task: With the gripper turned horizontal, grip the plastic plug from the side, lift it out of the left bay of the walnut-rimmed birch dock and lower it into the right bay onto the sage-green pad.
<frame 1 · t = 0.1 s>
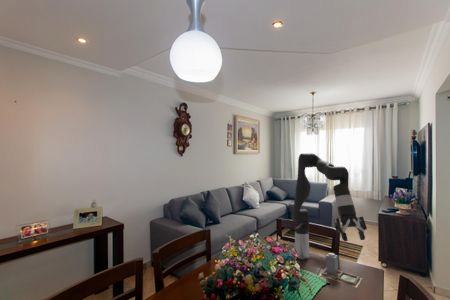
hand: (354, 240, 109), 31 cm above the table, tool tilted 20°, fingers open, 8 cm apart
dock: (340, 277, 135), on the table
plug: (332, 274, 138), point 1 cm above the table, touching dock
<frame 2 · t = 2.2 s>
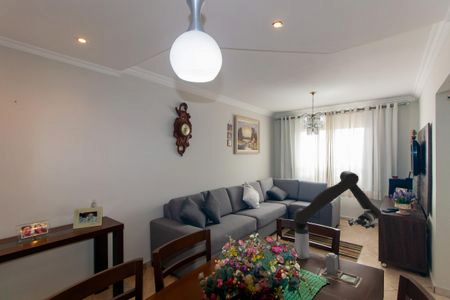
hand: (358, 225, 141), 28 cm above the table, tool horizontal, fingers open, 8 cm apart
nothing on the table moved.
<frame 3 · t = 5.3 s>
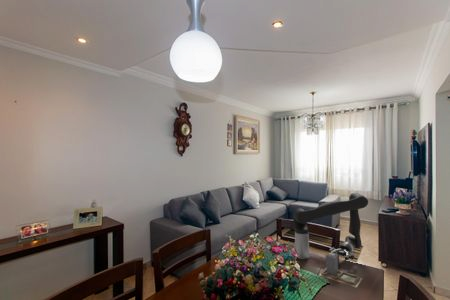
hand: (338, 256, 146), 7 cm above the table, tool horizontal, fingers open, 8 cm apart
nothing on the table moved.
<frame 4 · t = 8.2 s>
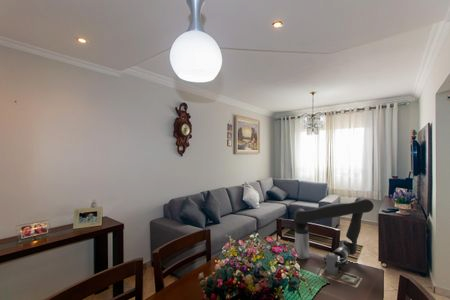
hand: (330, 264, 136), 7 cm above the table, tool horizontal, fingers closed on plug, 5 cm apart
plug: (332, 274, 138), point 1 cm above the table, touching dock, gripper
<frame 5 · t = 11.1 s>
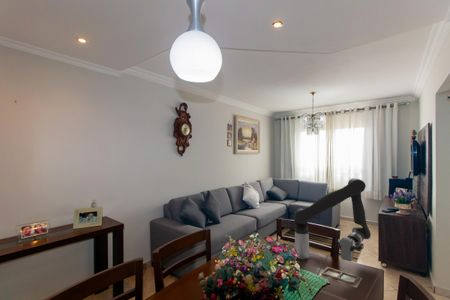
hand: (345, 248, 130), 19 cm above the table, tool horizontal, fingers closed on plug, 5 cm apart
plug: (347, 258, 132), point 12 cm above the table, touching gripper
when the fingers open (8 cm above the table, at t = 13.8 s): plug stays where it is, resting on dock.
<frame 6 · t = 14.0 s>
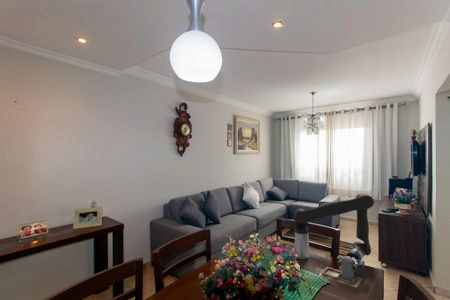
hand: (346, 266, 130), 9 cm above the table, tool horizontal, fingers open, 6 cm apart
plug: (348, 278, 132), point 1 cm above the table, touching dock
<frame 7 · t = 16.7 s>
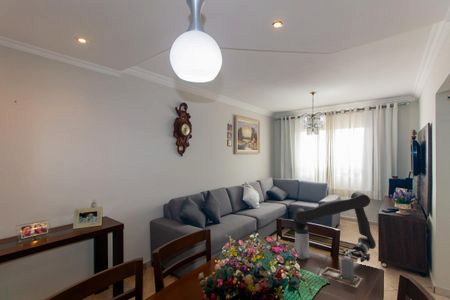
hand: (353, 258, 140), 9 cm above the table, tool horizontal, fingers open, 8 cm apart
nothing on the table moved.
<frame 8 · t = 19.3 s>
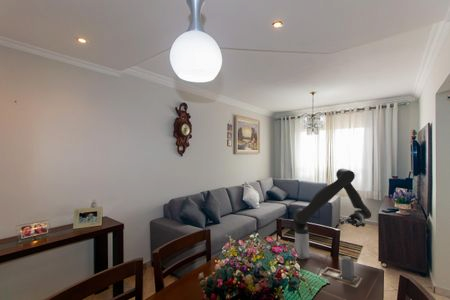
hand: (348, 224, 144), 28 cm above the table, tool horizontal, fingers open, 8 cm apart
nothing on the table moved.
at the end: plug 0.0 cm from the target spot on the dock, point 1.0 cm above the dock's base; plug tilted 0°; the gripper is holding nothing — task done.
